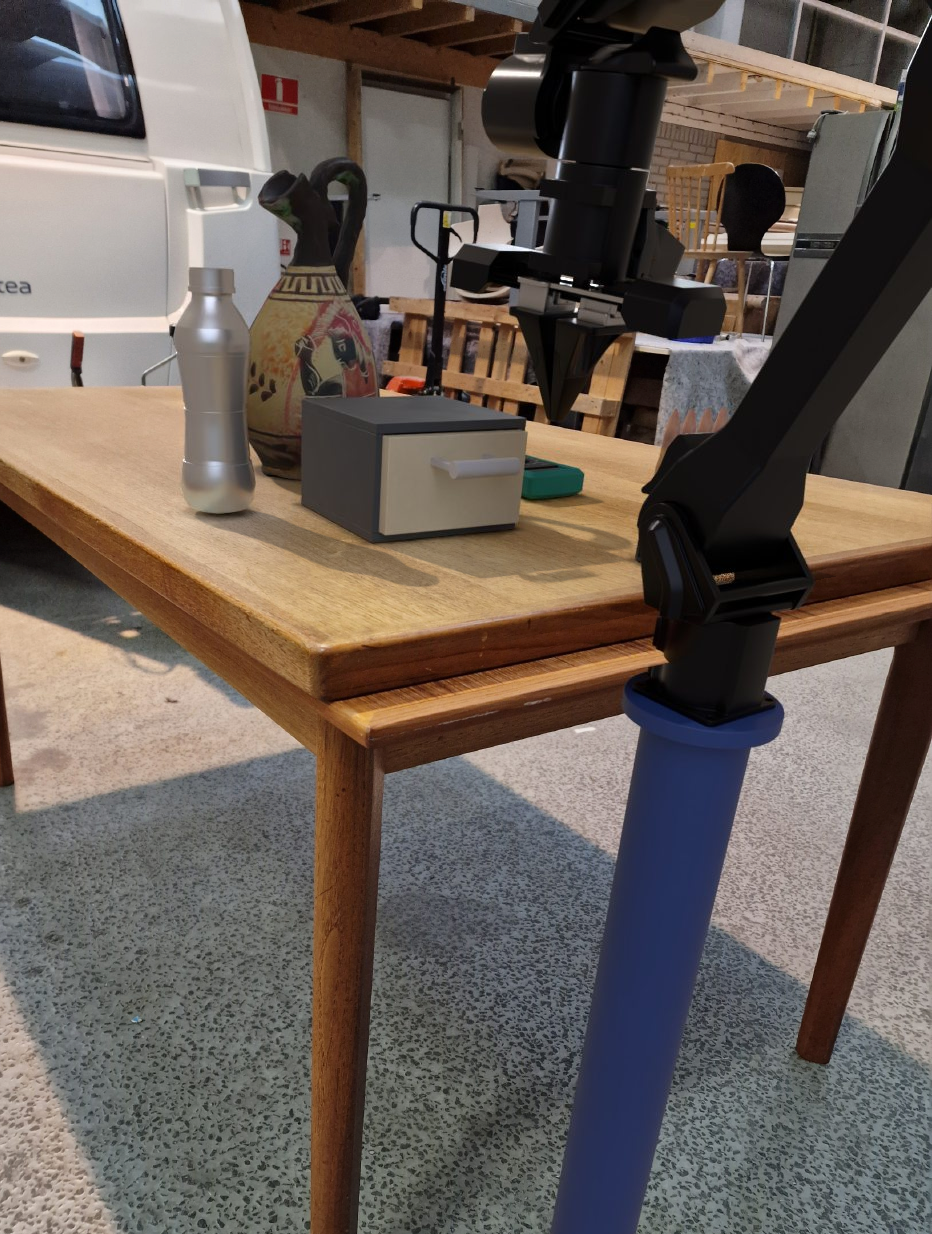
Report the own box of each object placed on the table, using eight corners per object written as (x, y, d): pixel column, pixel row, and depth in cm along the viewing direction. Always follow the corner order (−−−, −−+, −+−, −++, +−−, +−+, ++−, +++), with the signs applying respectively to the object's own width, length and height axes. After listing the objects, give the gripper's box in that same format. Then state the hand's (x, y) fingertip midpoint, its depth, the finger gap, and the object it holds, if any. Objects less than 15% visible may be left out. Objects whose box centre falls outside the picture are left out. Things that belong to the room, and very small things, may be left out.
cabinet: (515, 529, 87) (526, 418, 83) (371, 543, 80) (376, 423, 76) (432, 494, 98) (438, 395, 94) (300, 504, 92) (301, 398, 88)
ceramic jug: (294, 494, 96) (295, 141, 82) (207, 466, 106) (196, 148, 92) (416, 476, 106) (435, 161, 93) (327, 452, 116) (332, 165, 103)
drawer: (549, 535, 82) (561, 440, 78) (412, 549, 76) (418, 448, 72) (439, 490, 96) (445, 408, 92) (316, 499, 90) (317, 412, 87)
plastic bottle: (270, 514, 88) (269, 271, 79) (209, 524, 84) (199, 268, 75) (228, 500, 92) (222, 267, 83) (167, 510, 88) (154, 265, 79)
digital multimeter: (497, 469, 112) (499, 443, 110) (585, 496, 101) (588, 467, 99) (445, 474, 108) (447, 447, 107) (530, 502, 97) (533, 472, 96)
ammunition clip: (649, 565, 78) (675, 411, 73) (633, 559, 79) (658, 407, 74) (741, 552, 83) (772, 406, 78) (724, 547, 84) (754, 403, 79)
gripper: (802, 189, 60) (730, 442, 68) (563, 159, 70) (526, 381, 79) (709, 180, 53) (641, 463, 61) (460, 149, 63) (431, 393, 72)
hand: (555, 420), depth 68 cm, fingers closed
